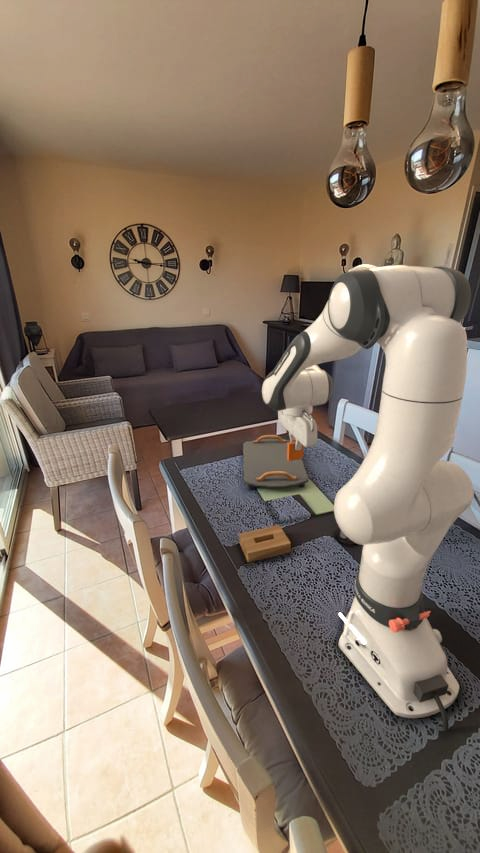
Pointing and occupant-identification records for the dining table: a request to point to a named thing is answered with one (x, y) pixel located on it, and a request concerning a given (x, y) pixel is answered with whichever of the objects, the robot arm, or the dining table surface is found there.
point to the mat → (308, 493)
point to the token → (294, 452)
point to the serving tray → (271, 464)
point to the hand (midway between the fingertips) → (295, 447)
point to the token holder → (264, 543)
